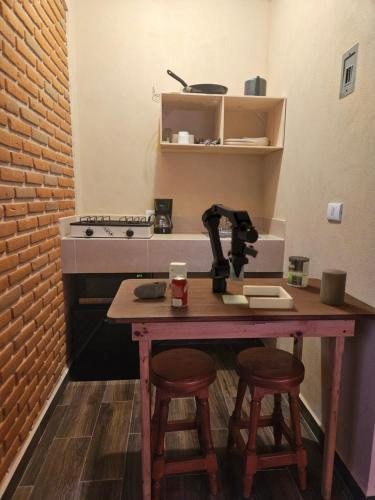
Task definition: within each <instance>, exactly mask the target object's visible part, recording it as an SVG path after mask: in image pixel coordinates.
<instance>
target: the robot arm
mask: <svg viewBox="0 0 375 500" xmlns="http://www.w3.org/2000/svg"><path fill="white" fill-rule="evenodd" d="M223 217H225V218H226V219H227V221H228V222H229V223H230V224H231V225H230V226H229V227H228V228H229V229H231V238H230V240H231V241H230V249H228V250H227V257H228V258H226V257H225V256H224V251H223V247H222V240H221V236H220V231H219V226H220V223H221V219H222V218H223ZM201 222H202V224H203V226H204V228H205V229H206V230H207V232H208V237H209V241H210V246H211V251H212V252H211V253H212V256H213V260H212V263H211V268H210V270H209V272H208V278H209V279H210V280H211V292H212V293H227V290H228V289H227V288H228V286H227V285H228V282H227V280H226V279H230V263H232V266H233V269H234V272H235V275H236V278H239V276H240V272H241V269H242V266H244V267H245V265H249V258H248V257H247V255H248V256H250V257H252V258H253V259H256V258H257V256H258V255H259V250H257V249H255V246H254V245H252V244H255V243H256V242H257V241H258V240H259V233H258V231H257V230H256V229H255V227H256V226H255V225H253V222H252V220H251V218H250V215H249V212H248V211H247V210H245V209H234V208H230V207H229V206H226V205H224V204H222V203H213V204H212V205H211V206H210V207H209V208H207V209H206V210H205V211H204V212H203V214H202V215H201ZM247 243H248V244H249V245H247Z"/></svg>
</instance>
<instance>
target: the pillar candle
mask: <svg viewBox="0 0 375 500" xmlns="http://www.w3.org/2000/svg"><path fill="white" fill-rule="evenodd" d="M347 273H348V272H347V271H345V270H342V269H336V268H334V269H331V268H325V269H322V270H321V279H320V280H321V281H320V293H319V302H321V303H322V304H326V305H329V306H343V305H344V304H345V296H346V287H347V286H346V285H347V276H348V275H347Z"/></svg>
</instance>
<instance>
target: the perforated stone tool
mask: <svg viewBox="0 0 375 500" xmlns="http://www.w3.org/2000/svg"><path fill="white" fill-rule="evenodd" d="M167 284H168V283H167V282H166V281H152V282H146V283H144V284H141V285H138V286H137V287H135V288H134V291H133V295H134V297H136V298H139V299H156V298H162V297H164V296H165V294H166V292H167Z"/></svg>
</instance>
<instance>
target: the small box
mask: <svg viewBox="0 0 375 500" xmlns="http://www.w3.org/2000/svg"><path fill="white" fill-rule="evenodd" d="M168 265H169V270H168V272H169V275H168V277H169V285H171V281H172V280H173V277H174V276H185V277H186V280H187V275H188V274H187V262H176V261H175V262H171V263H169V264H168ZM187 281H188V280H187Z"/></svg>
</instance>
